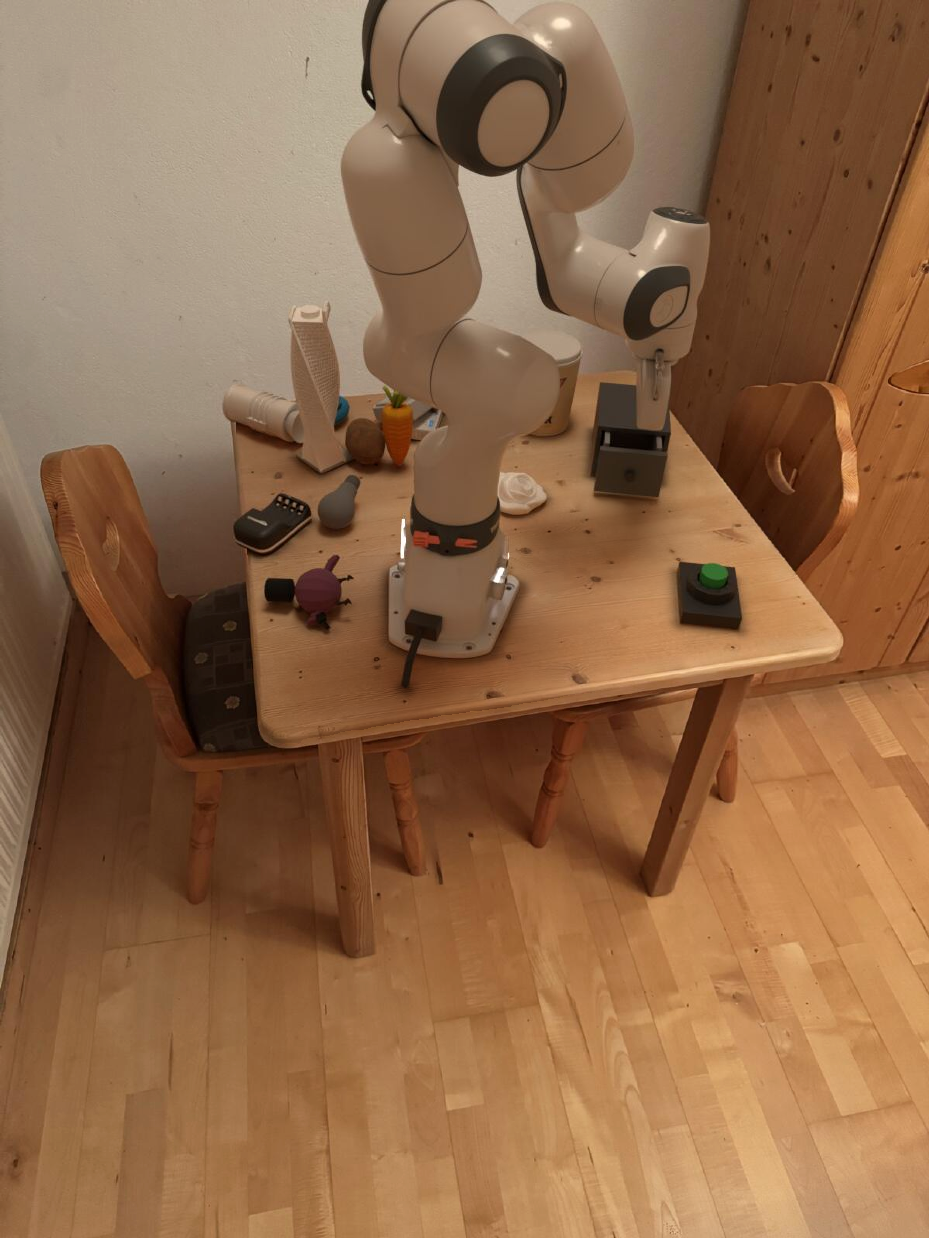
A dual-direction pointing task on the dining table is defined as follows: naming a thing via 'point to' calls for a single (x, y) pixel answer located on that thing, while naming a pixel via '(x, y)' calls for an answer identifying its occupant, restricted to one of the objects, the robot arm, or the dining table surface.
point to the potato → (365, 441)
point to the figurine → (310, 591)
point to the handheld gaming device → (416, 406)
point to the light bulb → (339, 504)
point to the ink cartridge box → (426, 423)
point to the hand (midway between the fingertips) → (643, 423)
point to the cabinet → (620, 417)
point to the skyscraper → (316, 386)
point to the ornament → (342, 410)
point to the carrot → (397, 426)
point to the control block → (707, 599)
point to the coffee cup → (568, 363)
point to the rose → (519, 493)
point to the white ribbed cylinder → (263, 413)
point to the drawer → (630, 464)
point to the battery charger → (271, 524)
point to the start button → (713, 576)
